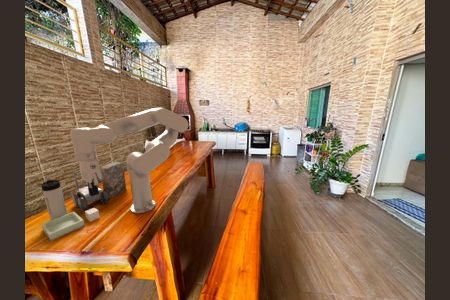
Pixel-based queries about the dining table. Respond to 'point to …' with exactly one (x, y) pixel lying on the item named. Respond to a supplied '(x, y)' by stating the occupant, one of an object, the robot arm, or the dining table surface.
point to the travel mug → (54, 199)
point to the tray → (62, 225)
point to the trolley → (87, 196)
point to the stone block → (113, 178)
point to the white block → (92, 214)
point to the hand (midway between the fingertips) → (94, 194)
